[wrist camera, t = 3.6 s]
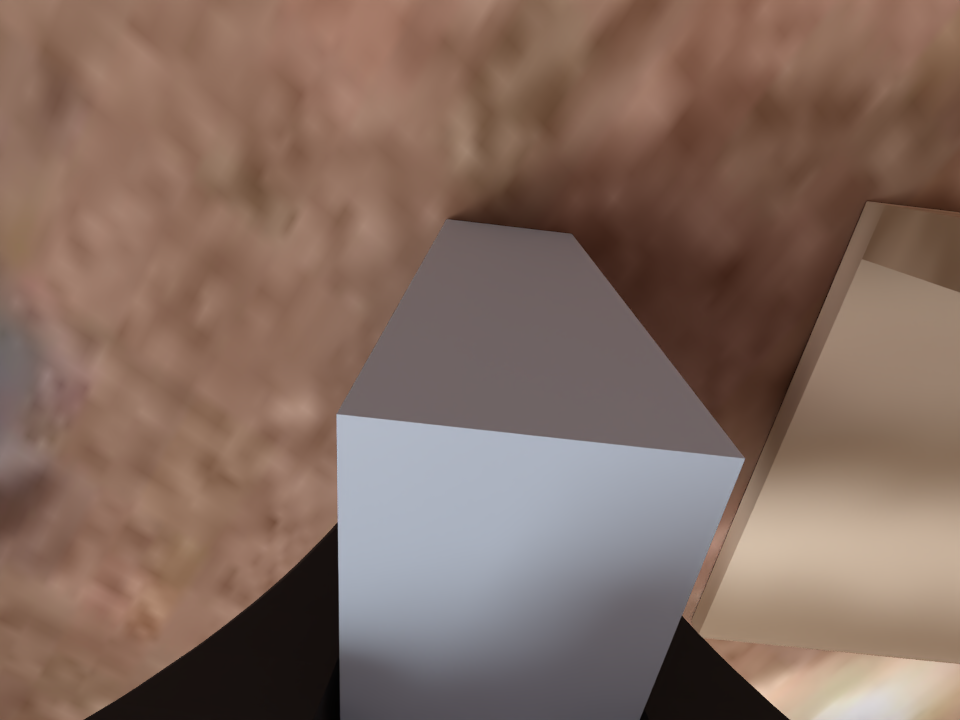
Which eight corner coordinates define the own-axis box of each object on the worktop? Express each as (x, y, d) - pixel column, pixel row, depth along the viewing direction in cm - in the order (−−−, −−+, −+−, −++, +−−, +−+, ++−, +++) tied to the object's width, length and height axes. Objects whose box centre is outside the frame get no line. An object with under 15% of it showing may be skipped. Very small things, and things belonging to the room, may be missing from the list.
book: (509, 569, 16) (524, 1004, 8) (419, 560, 16) (343, 988, 8) (571, 233, 12) (745, 458, 4) (446, 219, 12) (337, 414, 4)
